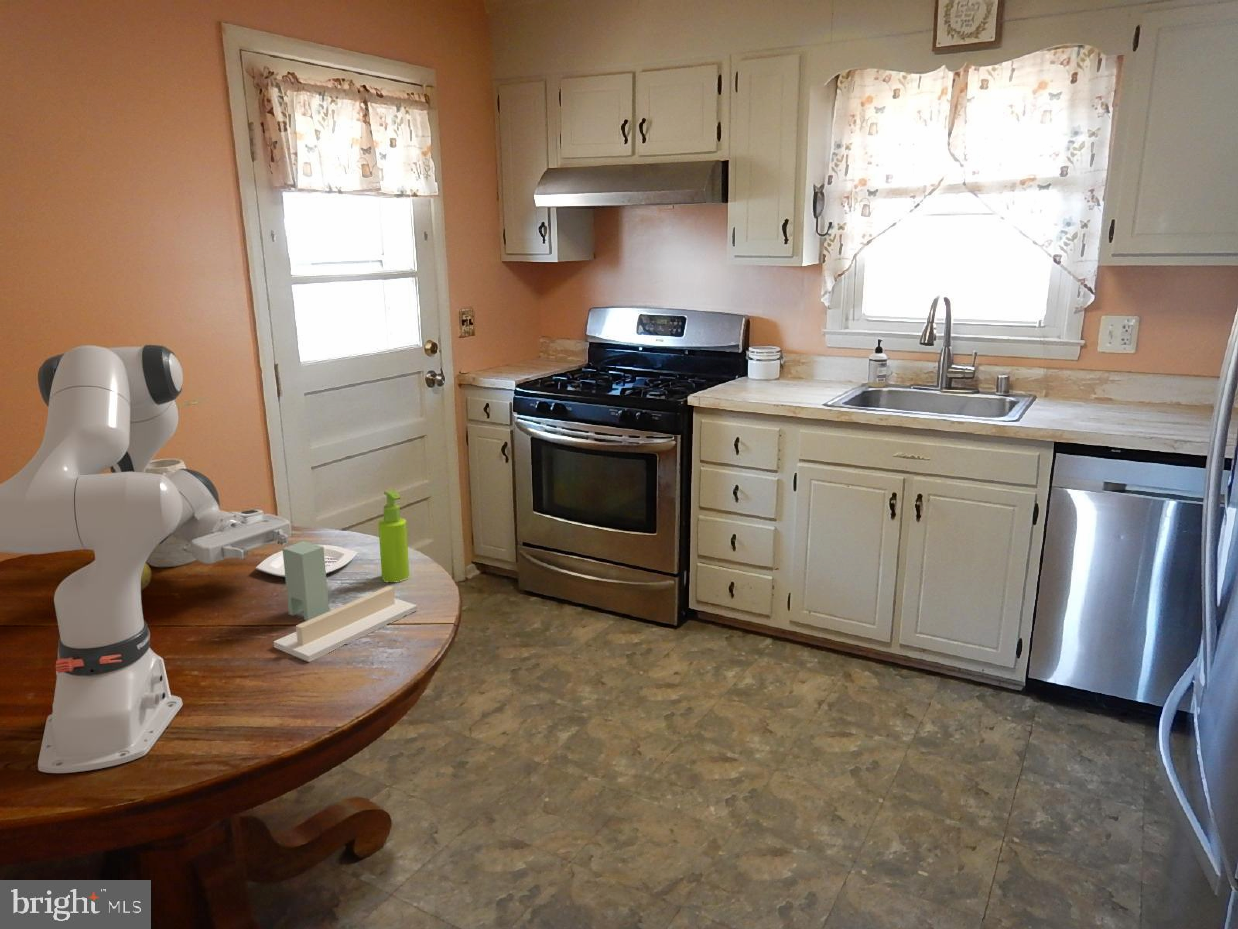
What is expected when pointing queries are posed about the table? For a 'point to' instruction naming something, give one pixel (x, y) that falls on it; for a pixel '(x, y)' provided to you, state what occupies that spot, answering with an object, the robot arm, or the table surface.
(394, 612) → the rail board
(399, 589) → the table surface
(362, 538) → the table surface
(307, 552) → the tall rectangular block
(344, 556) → the plate
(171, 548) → the vase
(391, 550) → the soap dispenser
